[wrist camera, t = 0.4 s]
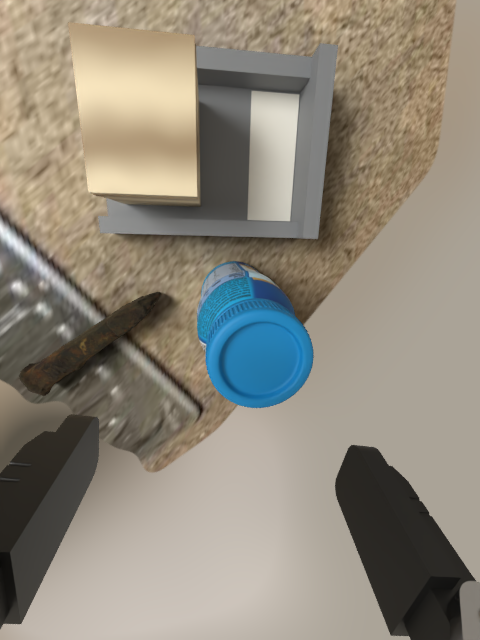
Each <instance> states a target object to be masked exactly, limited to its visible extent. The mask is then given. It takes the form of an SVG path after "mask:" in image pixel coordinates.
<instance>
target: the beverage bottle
mask: <svg viewBox="0 0 480 640" xmlns="http://www.w3.org/2000/svg"><path fill="white" fill-rule="evenodd" d="M197 330H198V336H199V340H200V343H201V345H202V347H203V349H204V351H205V352H206V365H207V370H208V374H209V377H210V379H211V381H212V383H213V385H214V386H215V388H216V389H217V390H218V391H219V393H220V394H221V395H223V396H224V397H225V398H226V399H228V400H229V401H231V402H233V403H235V404H238V405H241V406H244V407H251V408H263V407H269V406H273V405H276V404H279V403H281V402H283V401H285V400H287V399H288V398H290V397H291V396H293V395H294V394H295V393H296V392H297V391H298V390H299V389H300V388H301V387H302V386H303V384H304V383H305V381H306V380H307V378H308V376H309V374H310V371H311V368H312V364H313V347H312V342H311V339H310V337H309V334H308V333H307V330H306V329H305V327H304V326H303V324H302V323H301V322H300V321H299V320H298V319H297V318H296V317H295V312H294V309H293V306H292V304H291V302H290V300H289V298H288V297H287V296H286V294H285V293H284V292H283V291H282V290H281V289H280V288H279V287H278V285H277V284H276V283H275V282H273V281H272V280H271V279H270V278H268V277H266V276H264V275H262V274H260V273H259V272H258V271H257V270H256V269H255V268H253V267H252V266H250V265H248V264H246V263H243V262H237V261H232V262H226V263H223V264H220V265H218V266H217V267H215V268H214V269H213V270H212V271H211V272H210V273H209V274H208V275H207V277H206V278H205V280H204V283H203V286H202V291H201V299H200V302H199V305H198V310H197Z"/></svg>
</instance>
